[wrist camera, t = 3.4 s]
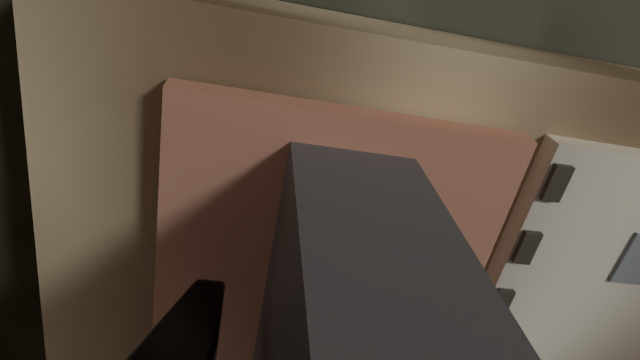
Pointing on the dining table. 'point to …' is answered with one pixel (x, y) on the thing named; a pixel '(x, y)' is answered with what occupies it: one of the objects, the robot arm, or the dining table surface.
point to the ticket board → (329, 86)
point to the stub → (336, 226)
